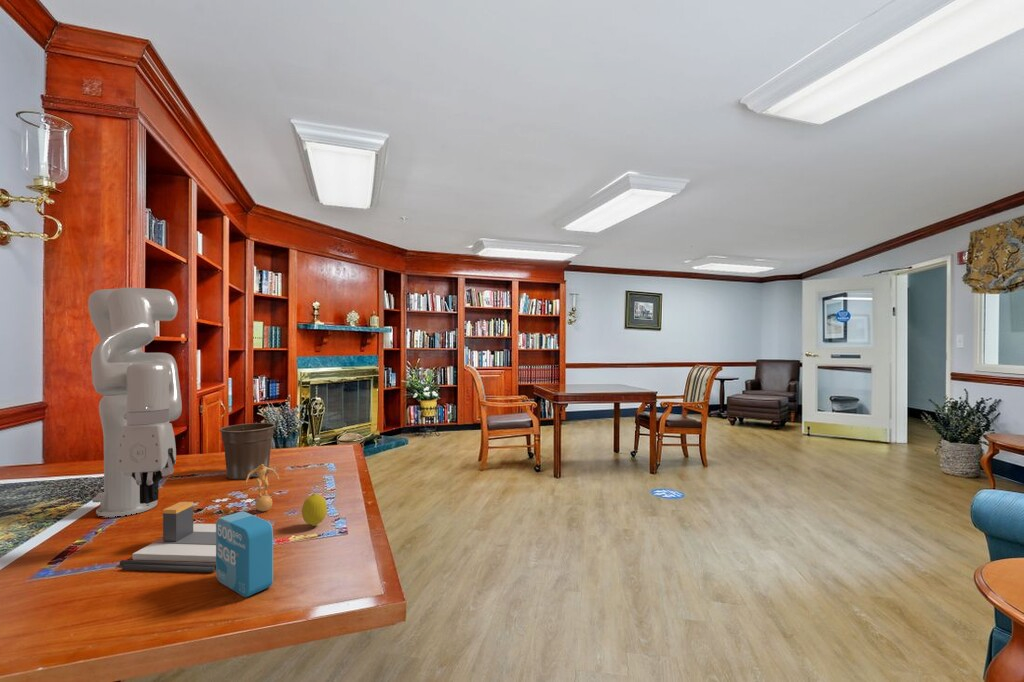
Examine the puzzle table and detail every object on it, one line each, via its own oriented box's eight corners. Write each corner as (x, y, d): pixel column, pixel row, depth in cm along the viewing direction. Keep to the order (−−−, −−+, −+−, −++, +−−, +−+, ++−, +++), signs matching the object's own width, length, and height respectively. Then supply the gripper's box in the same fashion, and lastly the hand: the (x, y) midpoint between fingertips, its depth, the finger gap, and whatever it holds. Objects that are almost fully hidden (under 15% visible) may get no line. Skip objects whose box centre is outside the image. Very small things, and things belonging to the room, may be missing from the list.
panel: (131, 559, 97) (131, 552, 97) (189, 528, 113) (189, 522, 113) (227, 562, 96) (227, 555, 96) (272, 530, 112) (272, 524, 112)
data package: (215, 580, 89) (215, 516, 89) (240, 570, 92) (240, 509, 92) (248, 600, 82) (247, 531, 82) (273, 589, 86) (273, 522, 86)
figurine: (248, 516, 120) (247, 469, 120) (242, 510, 125) (242, 465, 125) (283, 509, 126) (282, 464, 126) (276, 503, 130) (276, 459, 130)
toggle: (163, 541, 102) (162, 509, 102) (180, 531, 107) (180, 501, 107) (176, 541, 102) (176, 509, 102) (193, 532, 107) (193, 502, 107)
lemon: (331, 523, 116) (331, 491, 116) (315, 532, 111) (315, 498, 110) (313, 520, 118) (313, 488, 118) (296, 529, 112) (296, 495, 112)
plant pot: (234, 468, 165) (234, 422, 165) (282, 467, 167) (282, 421, 167) (209, 483, 149) (209, 431, 149) (263, 481, 151) (263, 430, 150)
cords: (112, 570, 92) (112, 565, 92) (123, 564, 95) (123, 559, 95) (212, 573, 91) (212, 568, 91) (221, 567, 94) (221, 562, 94)
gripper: (100, 421, 102) (101, 507, 101) (167, 420, 101) (168, 507, 100) (131, 416, 109) (131, 496, 109) (193, 415, 108) (194, 496, 108)
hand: (149, 501), depth 105 cm, fingers closed
